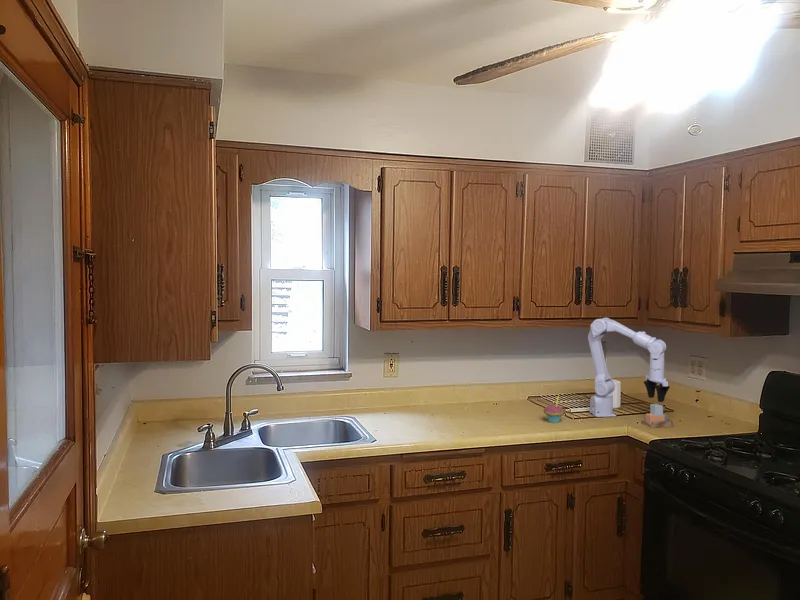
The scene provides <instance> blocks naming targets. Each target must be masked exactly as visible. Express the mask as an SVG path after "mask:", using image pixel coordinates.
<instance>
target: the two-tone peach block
mask: <svg viewBox="0 0 800 600" xmlns="http://www.w3.org/2000/svg"><path fill="white" fill-rule="evenodd" d="M645 418H646V422H647V423H649V424H652V422H661V421H668V420H669V414H666V413H664V412H663V415H660V416H654V415H652V414H650V413H645Z"/></svg>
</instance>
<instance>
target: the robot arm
mask: <svg viewBox="0 0 800 600" xmlns="http://www.w3.org/2000/svg"><path fill="white" fill-rule="evenodd" d="M589 329H590V330H589V332H588V334H587V339H588V344H589V349H590V353H591V354H590V355H591V358H592V362H593V363H592V364H593V366H594V367H593V368H594V372H595V377H594V392H595V395H591V396H590V400H589V412H590V413H589V414H591V413H592V414H593V415H592V414H591V415H592V416H594V417H595V418H601V417H602V418H607V417H617V415H616V414H615V413H614V411H613V410H614V408H613V393H612V392H613V391H614V390H615V384H614V382H613V381H612V380H613V378H612V377H611V375H610V373H609V371H608V367H607V363H606V358H605V354H604V349H603V345H602V341H601V339H602V338H603V337H604V336H605V334H607V333H608V332H617V333H619V334H620V335H623V336H625V337H628V338H629V339H631V340H632V341H633V343H634V344H635V345H637V346H638V347H641V348H643V349H645V350H648V352H649V353H650V354H649V374H645V380H644V381H643V384H644V386H645V389H646V392H647V396H648V398H649V399H654V398H655V394H657V397H656V398H657V402H659V403H663V402H665V398H666V396H667V395H666V394H667V392H668V391H669V389H670V387H671V386H669V381H668V380H667V378H665V352H666V350H667V345H666V342H665V341H663V339H657V338H656V337H653V336H650V335H649V334H646V333H647V332H646V331H634V330H633V329H630V328H629V327H627V326H626V325H624V324H622V323H620V322H618V321H616V320H614V319H611V318H609V317H603V318H596V319H594V320H593V321H592V323H591V324H590V328H589Z"/></svg>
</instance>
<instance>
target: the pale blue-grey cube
mask: <svg viewBox="0 0 800 600" xmlns="http://www.w3.org/2000/svg"><path fill="white" fill-rule="evenodd" d="M649 406H650V408H649V409H650V412H649V414H652V415H654V416H660V415H663V413H664V406H663V404H662V405H661V404H660V403H654V404H653V403H651V404H650V405H649Z"/></svg>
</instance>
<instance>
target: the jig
mask: <svg viewBox="0 0 800 600" xmlns="http://www.w3.org/2000/svg"><path fill="white" fill-rule="evenodd" d="M641 424H642V425H644V426H647V427H649V428H651V429H659V428H660V429H661V428H663V429H664V428H674V427H675V425H674V421H673V420H670V419H668V421H661V422H652V424H649V423H647V422H646V417H644V419H643V420H641Z"/></svg>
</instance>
